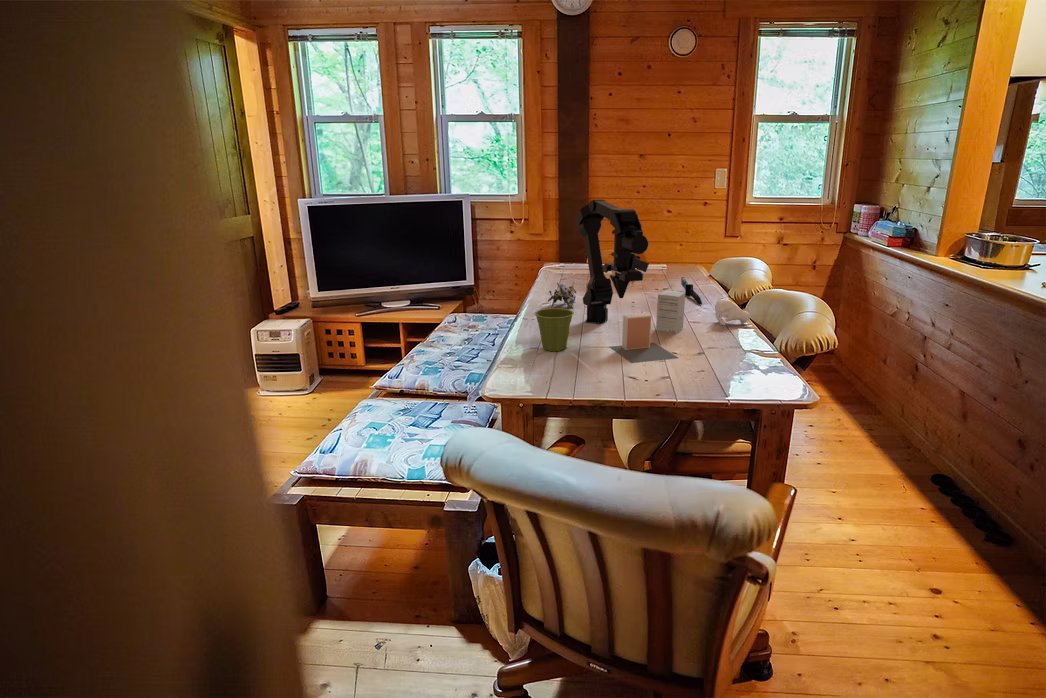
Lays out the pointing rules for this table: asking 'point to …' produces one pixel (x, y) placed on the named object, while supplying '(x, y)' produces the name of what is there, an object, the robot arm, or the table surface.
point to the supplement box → (670, 311)
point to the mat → (644, 353)
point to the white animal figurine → (730, 312)
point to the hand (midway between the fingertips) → (621, 298)
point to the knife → (690, 290)
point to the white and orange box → (636, 331)
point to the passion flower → (564, 295)
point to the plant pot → (554, 327)
